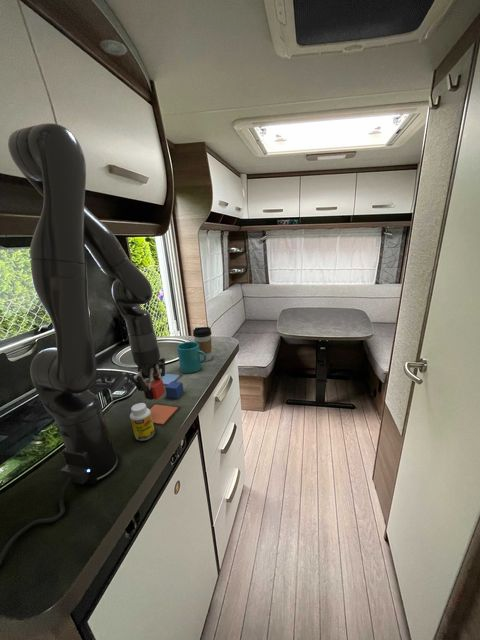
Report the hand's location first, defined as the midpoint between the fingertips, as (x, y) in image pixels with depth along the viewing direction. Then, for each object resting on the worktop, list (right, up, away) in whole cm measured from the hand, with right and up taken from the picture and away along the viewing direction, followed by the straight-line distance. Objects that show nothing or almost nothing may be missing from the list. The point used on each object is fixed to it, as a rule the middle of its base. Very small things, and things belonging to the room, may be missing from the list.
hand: (155, 394), depth 89 cm
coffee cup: (+7, +10, +43) cm, 45 cm away
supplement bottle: (0, -11, -6) cm, 13 cm away
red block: (0, 0, 0) cm, 0 cm away
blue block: (+2, -2, +14) cm, 14 cm away
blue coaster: (-5, +2, +25) cm, 26 cm away
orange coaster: (0, -7, +3) cm, 8 cm away
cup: (+5, +6, +33) cm, 34 cm away
